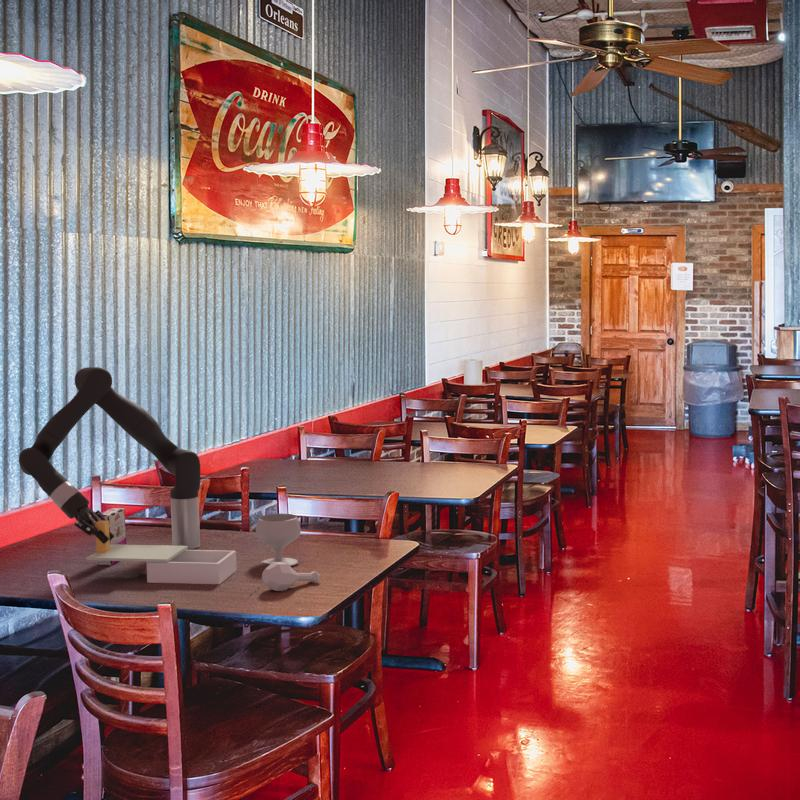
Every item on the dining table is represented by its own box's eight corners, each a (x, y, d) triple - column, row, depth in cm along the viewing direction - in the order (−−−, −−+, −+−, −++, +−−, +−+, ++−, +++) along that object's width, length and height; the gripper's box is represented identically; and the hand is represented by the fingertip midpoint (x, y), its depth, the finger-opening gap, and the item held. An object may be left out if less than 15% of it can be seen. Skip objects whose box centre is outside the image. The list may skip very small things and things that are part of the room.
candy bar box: (113, 557, 339) (111, 507, 337) (127, 557, 338) (125, 507, 336) (96, 565, 328) (94, 514, 326) (111, 566, 327) (109, 514, 325)
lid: (110, 546, 321) (109, 515, 320) (187, 548, 317) (186, 516, 316) (86, 560, 304) (84, 527, 303) (167, 562, 300) (165, 528, 299)
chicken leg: (327, 588, 300) (324, 559, 303) (275, 587, 288) (272, 558, 291) (310, 594, 305) (307, 566, 308) (259, 594, 294) (256, 565, 297)
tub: (167, 571, 318) (167, 549, 318) (236, 573, 315) (236, 550, 314) (147, 585, 302) (146, 562, 302) (219, 587, 299) (218, 563, 298)
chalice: (304, 568, 320) (302, 520, 318) (258, 571, 317) (257, 523, 315) (298, 557, 333) (297, 511, 332) (255, 560, 330) (253, 514, 329)
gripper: (66, 495, 305) (107, 536, 304) (87, 487, 319) (127, 526, 318) (50, 513, 306) (91, 554, 305) (72, 503, 320) (111, 543, 319)
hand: (109, 539), depth 312 cm, fingers closed on lid, 3 cm apart
